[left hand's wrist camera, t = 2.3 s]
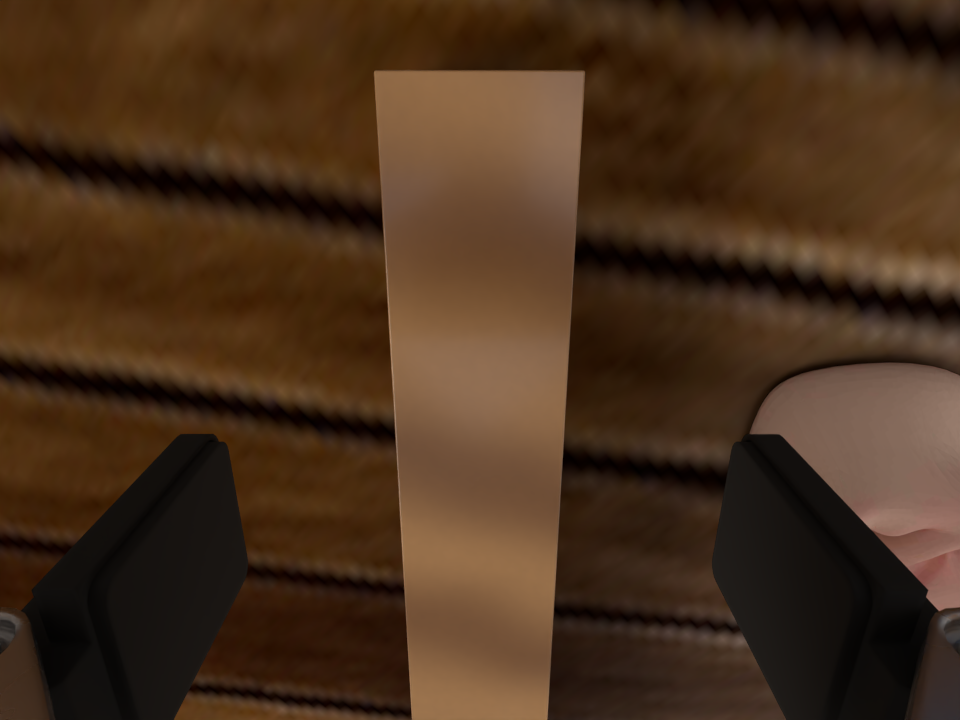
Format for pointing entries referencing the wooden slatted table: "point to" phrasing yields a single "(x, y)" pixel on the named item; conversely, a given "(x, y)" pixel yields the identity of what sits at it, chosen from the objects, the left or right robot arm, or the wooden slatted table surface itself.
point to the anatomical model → (884, 456)
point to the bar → (479, 371)
